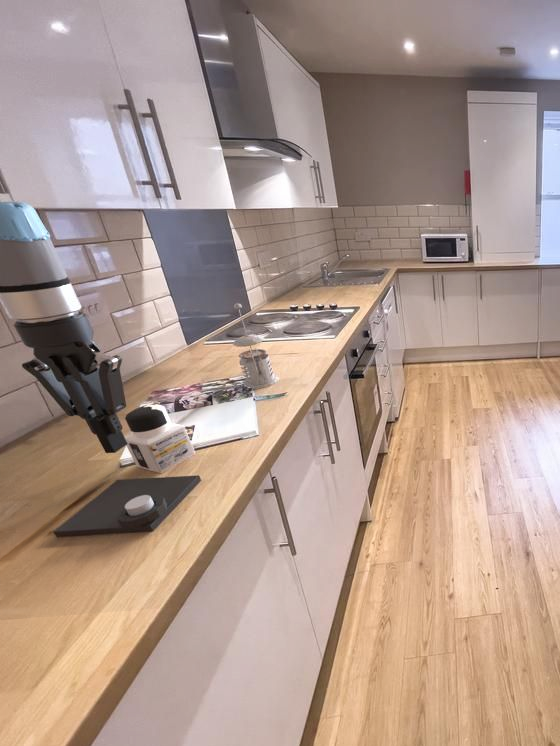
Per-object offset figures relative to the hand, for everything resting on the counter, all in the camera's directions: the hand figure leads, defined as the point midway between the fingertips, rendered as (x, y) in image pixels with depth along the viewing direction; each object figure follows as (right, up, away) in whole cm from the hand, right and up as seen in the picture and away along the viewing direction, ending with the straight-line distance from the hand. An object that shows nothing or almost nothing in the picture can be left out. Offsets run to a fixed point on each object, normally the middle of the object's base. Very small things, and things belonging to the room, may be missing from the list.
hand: (116, 448), depth 71 cm
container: (-9, -6, +21) cm, 23 cm away
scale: (-4, -12, +7) cm, 15 cm away
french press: (-10, +11, +57) cm, 59 cm away
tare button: (+2, -11, +3) cm, 12 cm away
